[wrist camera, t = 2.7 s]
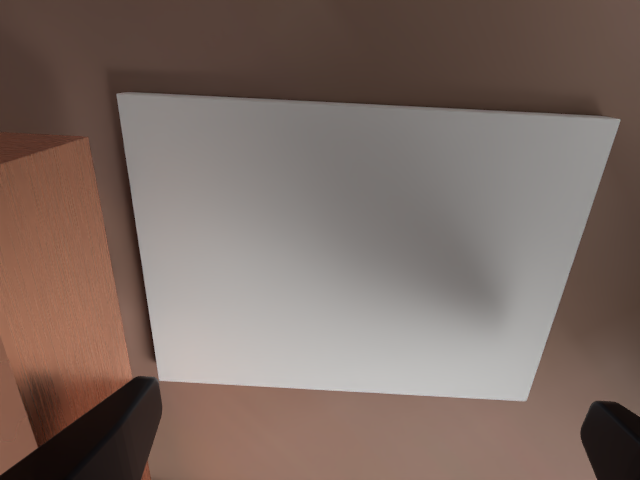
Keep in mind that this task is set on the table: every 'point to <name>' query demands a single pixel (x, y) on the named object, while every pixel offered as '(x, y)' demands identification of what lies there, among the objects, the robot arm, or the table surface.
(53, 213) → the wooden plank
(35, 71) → the table surface
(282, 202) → the mat
